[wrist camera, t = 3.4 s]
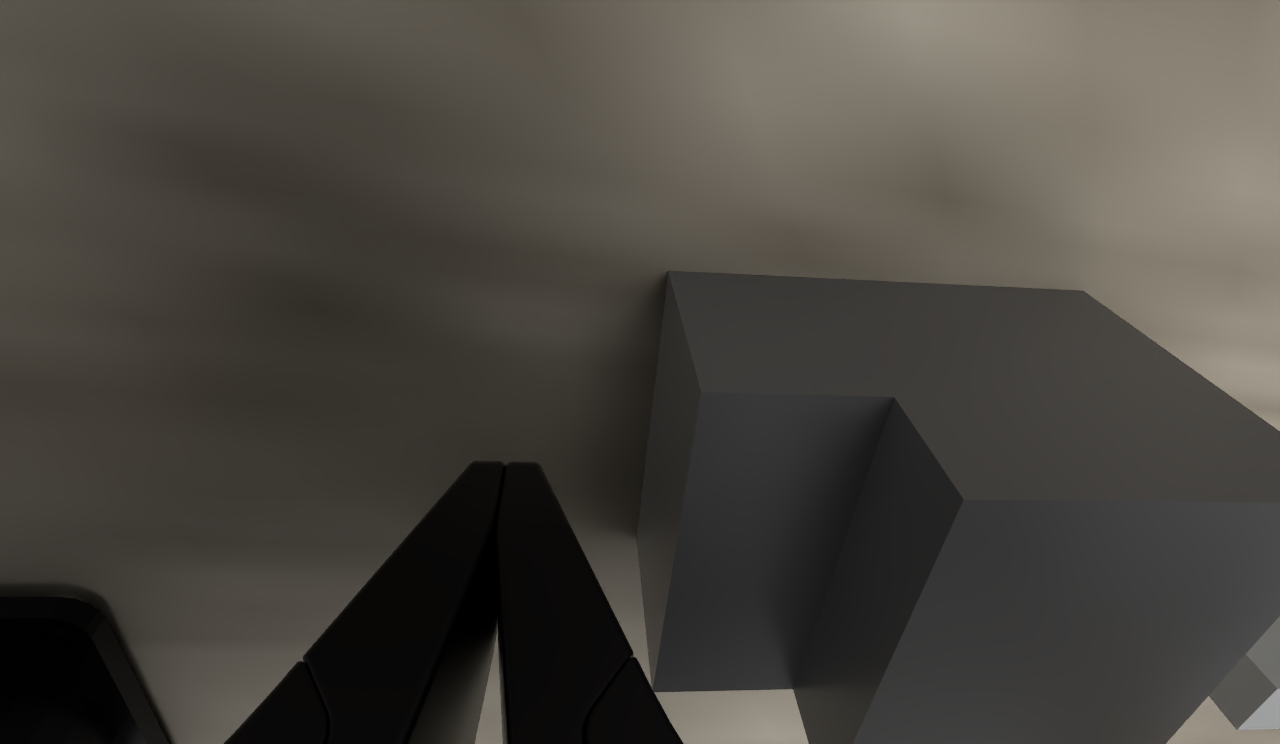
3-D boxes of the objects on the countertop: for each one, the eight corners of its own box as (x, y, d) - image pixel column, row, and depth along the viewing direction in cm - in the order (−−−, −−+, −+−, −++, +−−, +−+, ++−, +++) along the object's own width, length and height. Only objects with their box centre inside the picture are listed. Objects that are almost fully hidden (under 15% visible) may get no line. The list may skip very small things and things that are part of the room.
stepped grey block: (960, 533, 13) (1123, 789, 9) (635, 531, 12) (663, 808, 8) (1076, 286, 10) (1380, 503, 6) (666, 266, 9) (730, 496, 6)
